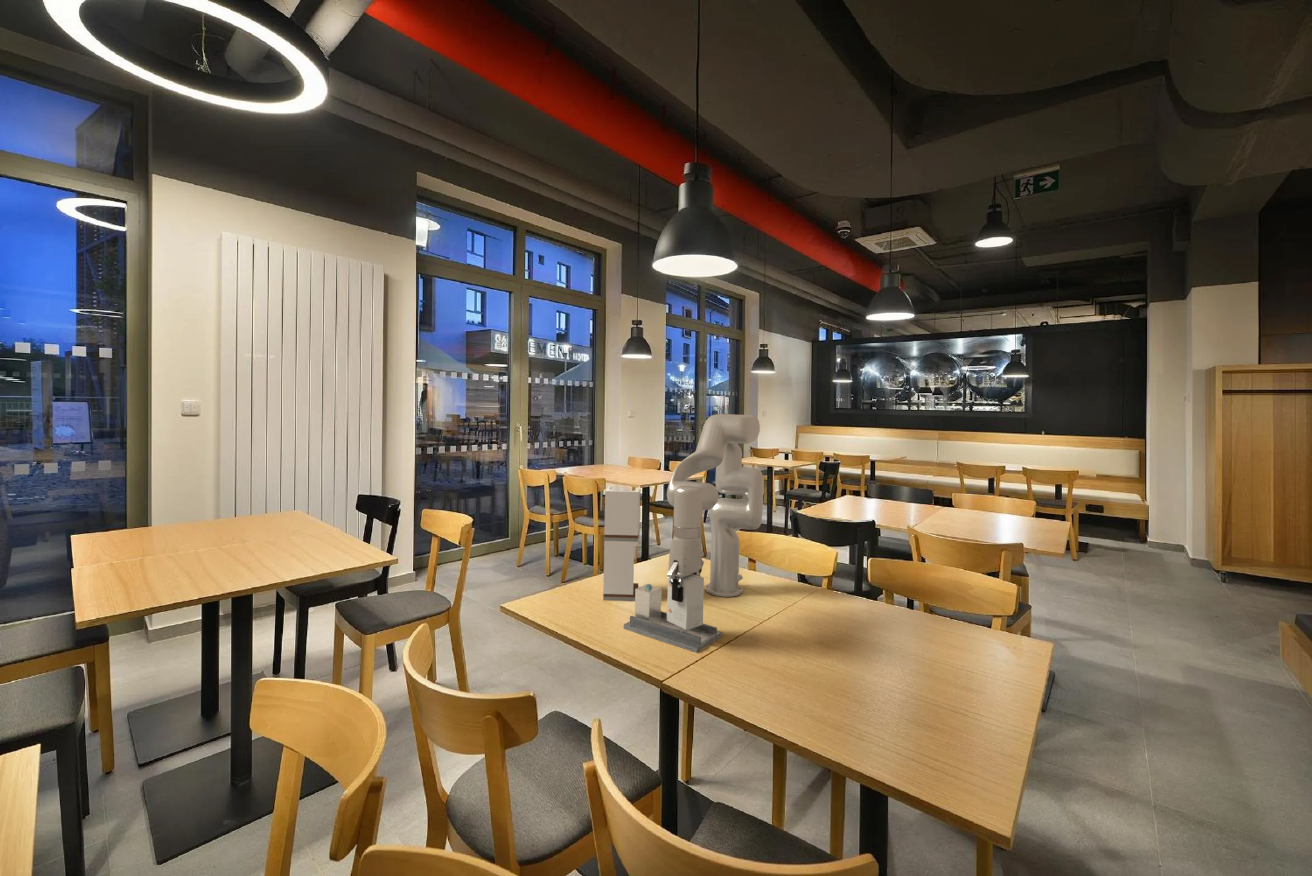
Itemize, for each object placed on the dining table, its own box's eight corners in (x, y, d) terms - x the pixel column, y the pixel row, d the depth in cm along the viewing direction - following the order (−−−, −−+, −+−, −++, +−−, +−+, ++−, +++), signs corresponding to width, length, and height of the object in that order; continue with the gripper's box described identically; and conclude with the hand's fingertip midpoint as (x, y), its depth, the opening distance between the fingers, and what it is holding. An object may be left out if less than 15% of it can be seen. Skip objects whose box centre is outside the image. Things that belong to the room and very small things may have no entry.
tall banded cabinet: (636, 601, 178) (638, 492, 176) (603, 600, 178) (605, 491, 176) (638, 589, 189) (640, 486, 187) (606, 588, 190) (608, 485, 187)
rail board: (651, 615, 167) (652, 577, 166) (721, 636, 152) (723, 594, 152) (623, 628, 156) (624, 588, 155) (696, 652, 142) (697, 608, 141)
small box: (703, 625, 151) (704, 577, 150) (686, 630, 147) (687, 581, 146) (683, 615, 157) (684, 570, 156) (665, 621, 153) (667, 574, 152)
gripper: (692, 525, 159) (691, 586, 160) (656, 535, 145) (655, 602, 146) (715, 528, 155) (713, 591, 156) (680, 540, 141) (678, 609, 142)
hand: (685, 596), depth 151 cm, fingers closed on small box, 7 cm apart
